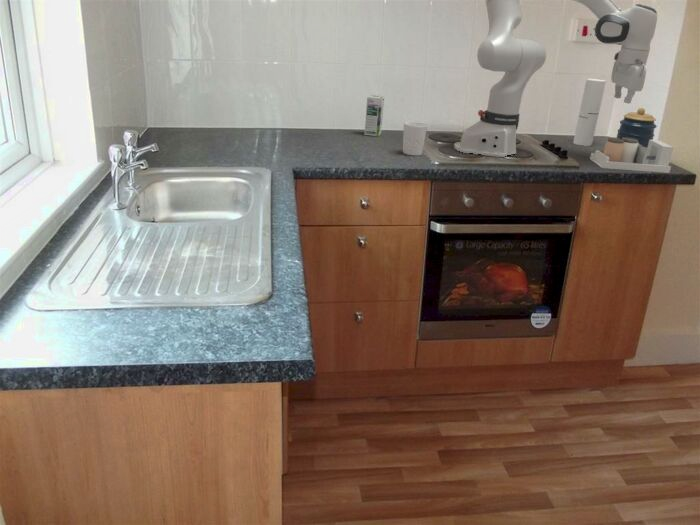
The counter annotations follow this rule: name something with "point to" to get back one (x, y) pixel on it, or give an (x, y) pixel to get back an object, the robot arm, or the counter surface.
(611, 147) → the jar
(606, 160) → the white tray
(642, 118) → the canister
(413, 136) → the white cup
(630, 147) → the lane jar
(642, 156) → the pusher
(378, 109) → the syrup box
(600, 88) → the cylindrical container
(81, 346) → the counter surface
